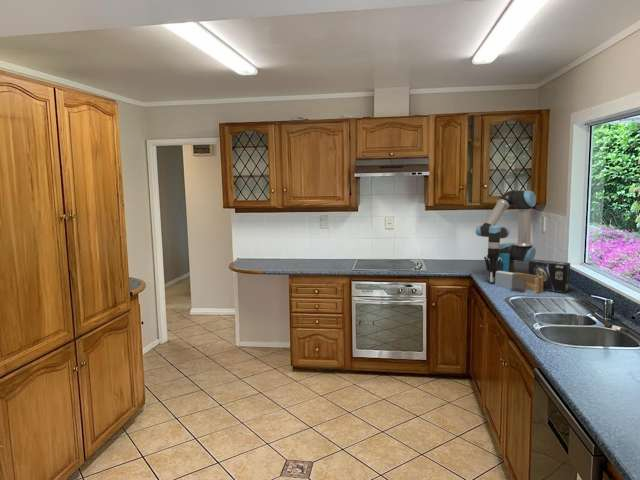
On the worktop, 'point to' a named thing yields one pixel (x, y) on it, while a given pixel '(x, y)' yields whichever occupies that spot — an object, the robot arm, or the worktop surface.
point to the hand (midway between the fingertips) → (491, 281)
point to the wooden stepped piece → (532, 282)
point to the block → (504, 262)
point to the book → (504, 279)
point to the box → (552, 274)
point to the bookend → (519, 285)
